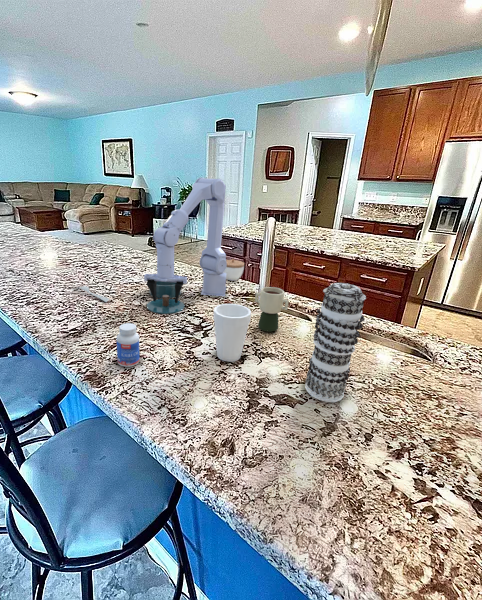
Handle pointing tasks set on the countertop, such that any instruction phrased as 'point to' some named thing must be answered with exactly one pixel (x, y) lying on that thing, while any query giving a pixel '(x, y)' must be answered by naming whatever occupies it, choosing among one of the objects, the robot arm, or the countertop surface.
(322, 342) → the leaning tower model
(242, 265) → the trinket box
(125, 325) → the pill bottle
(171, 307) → the lid
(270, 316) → the character mug
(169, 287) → the bowl
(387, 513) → the countertop surface
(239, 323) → the foam cup
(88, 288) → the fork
